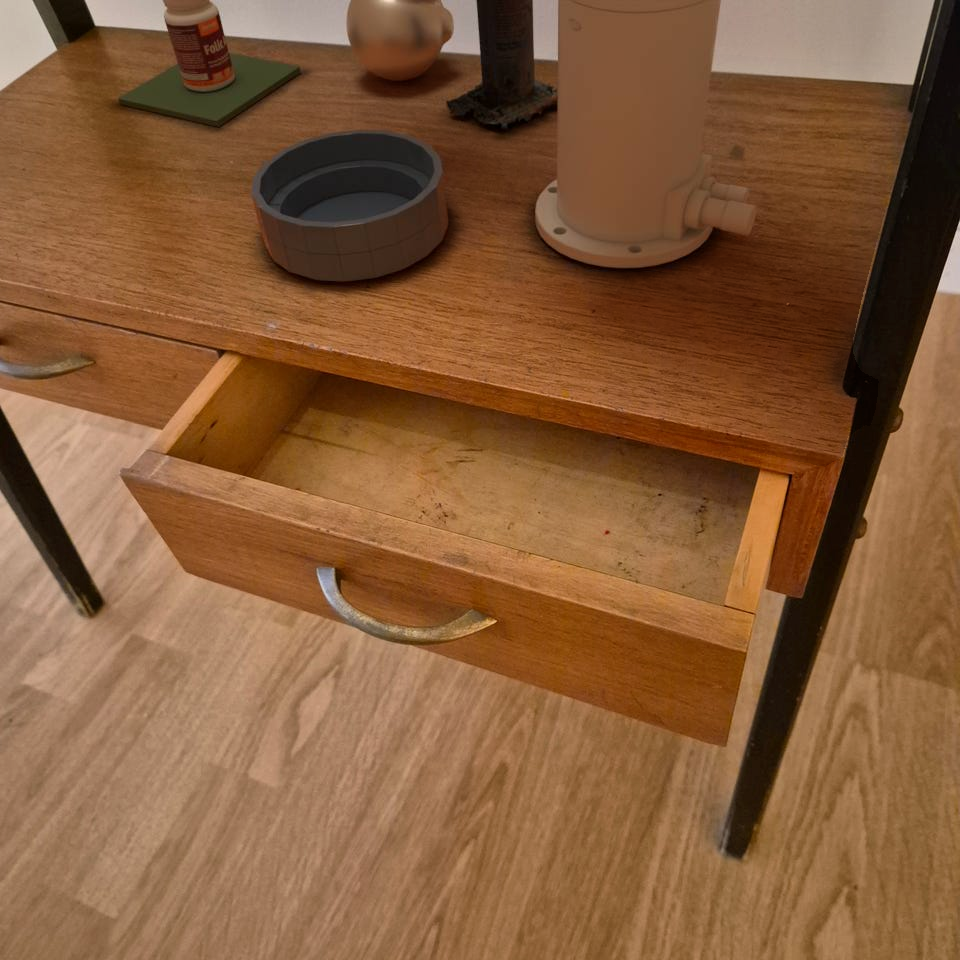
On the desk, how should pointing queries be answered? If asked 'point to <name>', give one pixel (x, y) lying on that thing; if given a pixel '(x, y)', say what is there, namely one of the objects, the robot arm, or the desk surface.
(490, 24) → the post on square base
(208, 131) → the desk surface
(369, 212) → the bowl
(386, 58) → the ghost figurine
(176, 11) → the pill bottle
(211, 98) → the mat
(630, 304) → the desk surface
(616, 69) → the robot arm
